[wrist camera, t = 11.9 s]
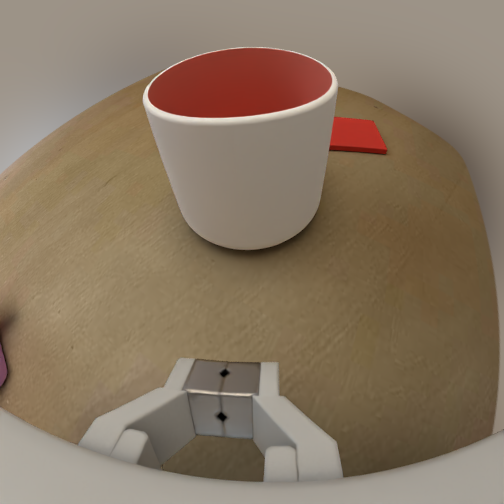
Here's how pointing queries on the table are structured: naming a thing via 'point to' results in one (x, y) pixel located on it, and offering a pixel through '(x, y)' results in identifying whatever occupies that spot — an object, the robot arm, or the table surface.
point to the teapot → (2, 367)
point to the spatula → (356, 136)
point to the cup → (244, 141)
